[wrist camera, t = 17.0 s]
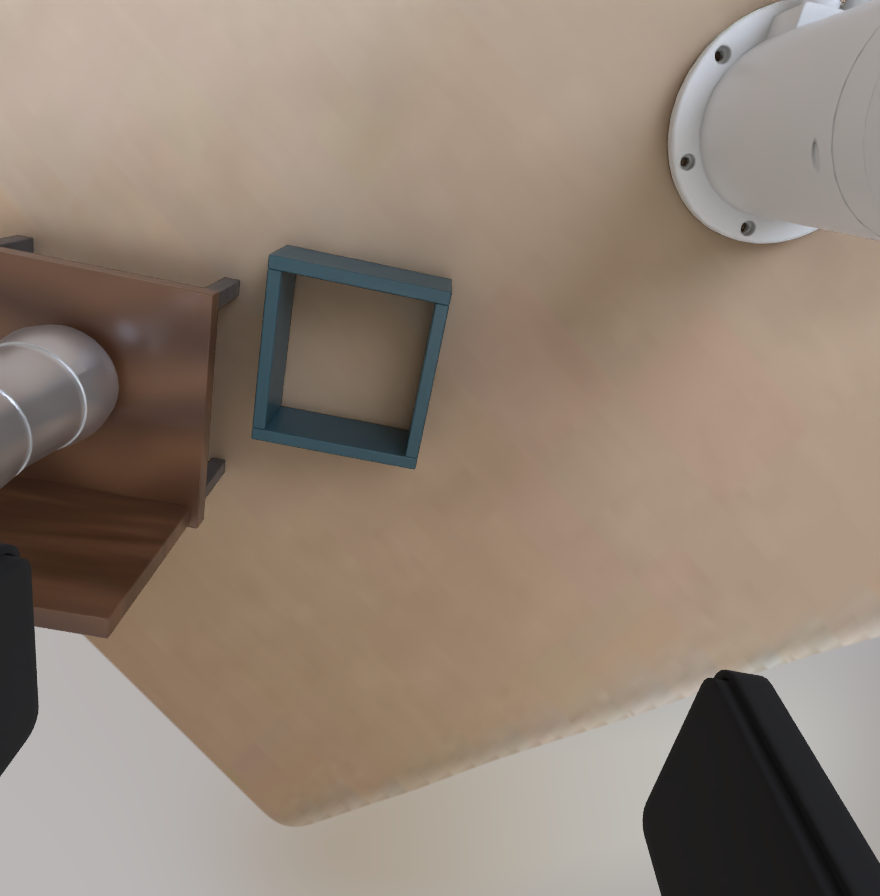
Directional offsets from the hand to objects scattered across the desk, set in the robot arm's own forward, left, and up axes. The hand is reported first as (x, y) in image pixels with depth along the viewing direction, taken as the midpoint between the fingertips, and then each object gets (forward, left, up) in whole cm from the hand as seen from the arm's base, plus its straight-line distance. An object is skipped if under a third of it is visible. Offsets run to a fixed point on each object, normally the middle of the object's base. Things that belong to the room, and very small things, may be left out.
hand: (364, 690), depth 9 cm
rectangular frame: (+6, -4, -36) cm, 37 cm away
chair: (+10, -19, -36) cm, 42 cm away
